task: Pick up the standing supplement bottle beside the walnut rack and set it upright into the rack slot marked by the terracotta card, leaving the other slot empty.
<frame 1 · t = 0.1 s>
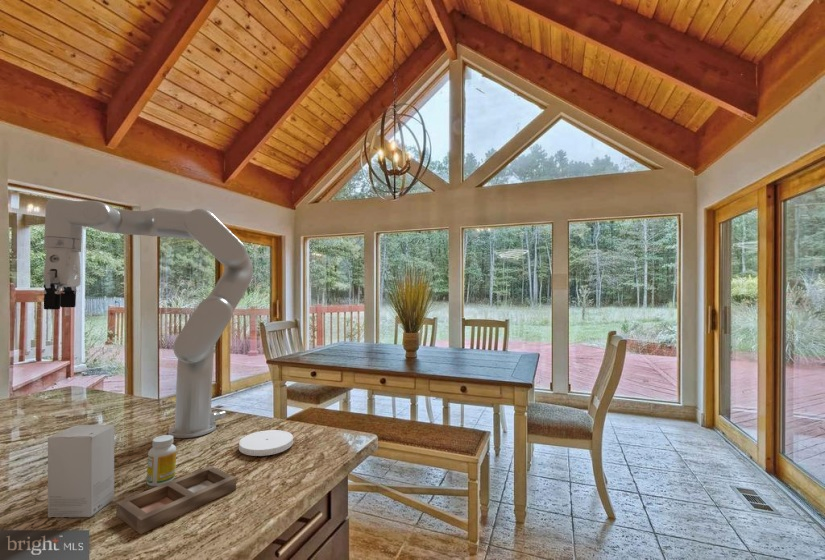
hand: (60, 308, 104), 37 cm above the countertop, tool pointing down, fingers open, 9 cm apart
supplement bottle: (161, 481, 86), on the countertop
tube rack: (180, 501, 78), on the countertop
plastic lid: (266, 449, 106), on the countertop
skincare box: (80, 510, 75), on the countertop
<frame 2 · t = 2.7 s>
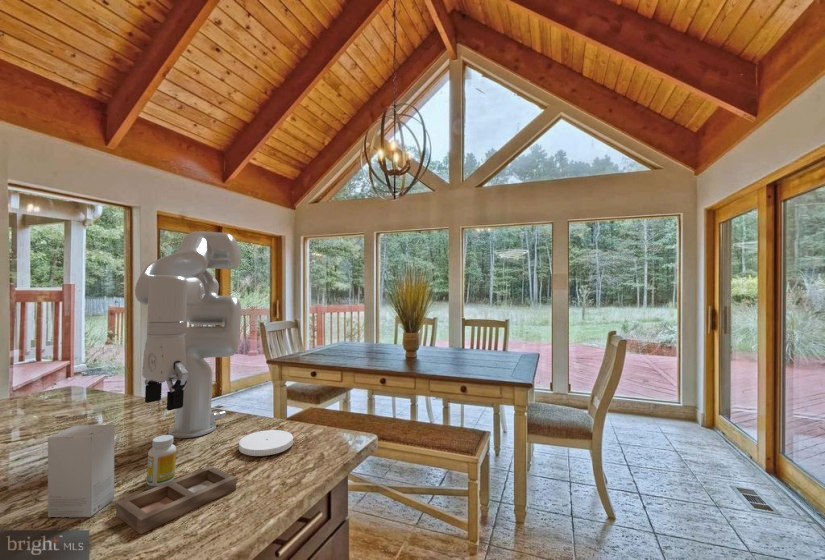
hand: (163, 404, 86), 17 cm above the countertop, tool pointing down, fingers open, 9 cm apart
nothing on the countertop moved.
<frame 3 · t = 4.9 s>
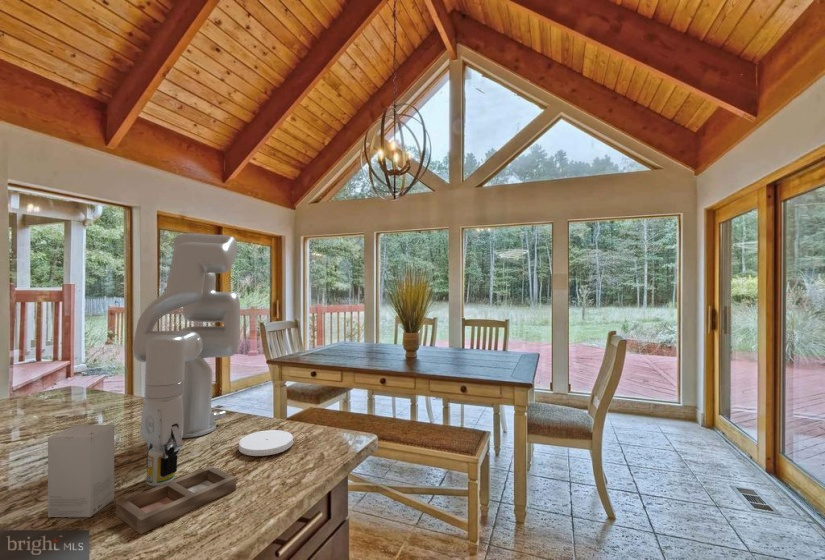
hand: (161, 469, 86), 2 cm above the countertop, tool pointing down, fingers closed on supplement bottle, 5 cm apart
supplement bottle: (161, 481, 86), on the countertop, touching gripper
everything else where it was.
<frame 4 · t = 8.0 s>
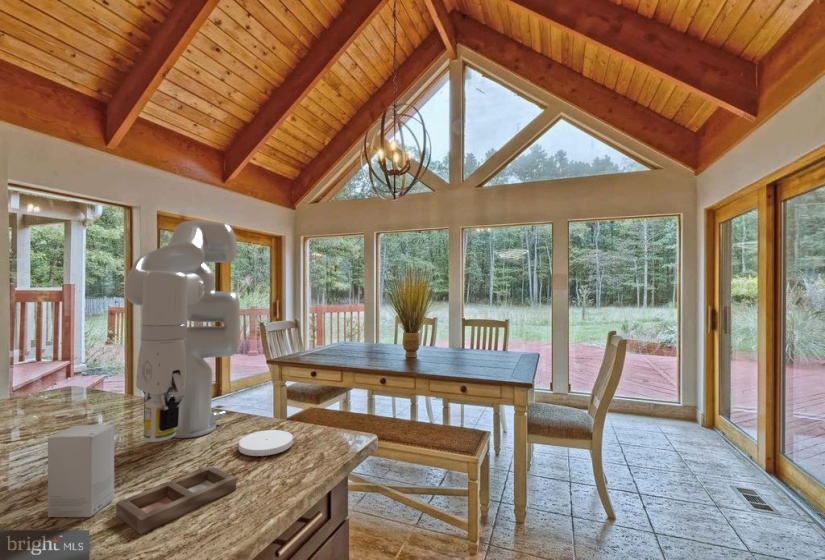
hand: (160, 424, 75), 17 cm above the countertop, tool pointing down, fingers closed on supplement bottle, 5 cm apart
supplement bottle: (160, 438, 75), point 14 cm above the countertop, touching gripper
everything else where it was.
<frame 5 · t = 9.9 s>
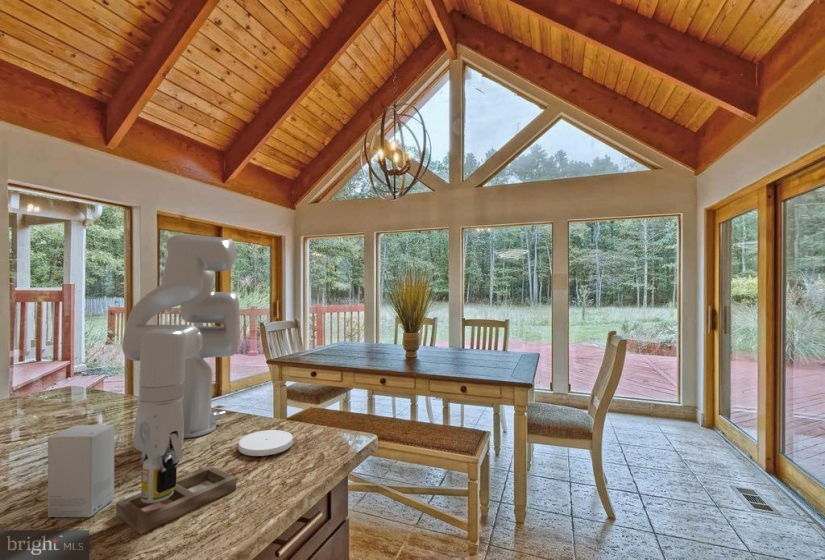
hand: (158, 484, 75), 5 cm above the countertop, tool pointing down, fingers closed on supplement bottle, 5 cm apart
supplement bottle: (157, 497, 75), point 3 cm above the countertop, touching gripper
everything else where it was.
when the fingers open (4 cm above the countertop, at t = 11.1 s): supplement bottle stays where it is, resting on tube rack.
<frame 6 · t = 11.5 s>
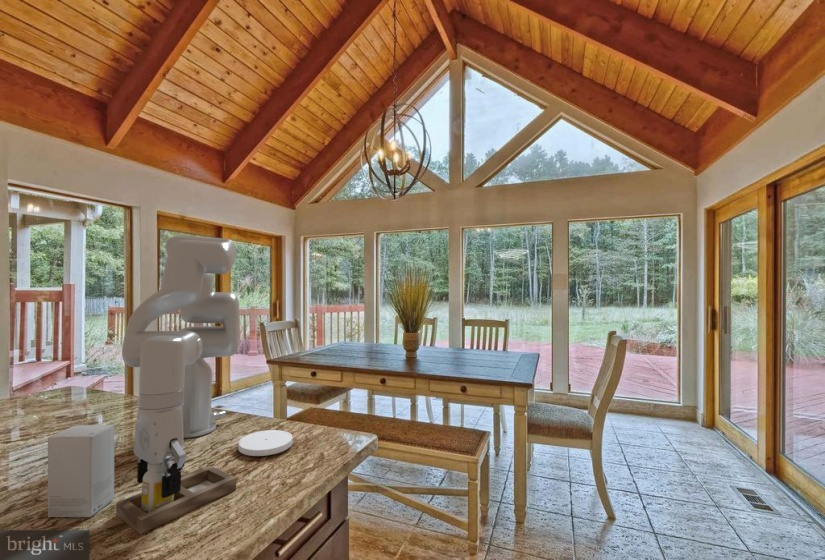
hand: (158, 487, 75), 5 cm above the countertop, tool pointing down, fingers open, 9 cm apart
supplement bottle: (157, 510, 75), resting on tube rack
everything else where it was.
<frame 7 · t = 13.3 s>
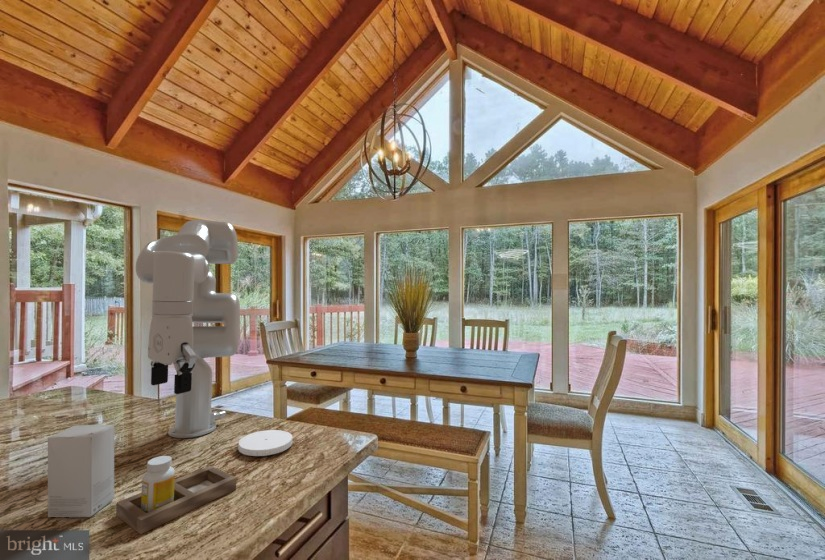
hand: (170, 388, 82), 22 cm above the countertop, tool pointing down, fingers open, 9 cm apart
nothing on the countertop moved.
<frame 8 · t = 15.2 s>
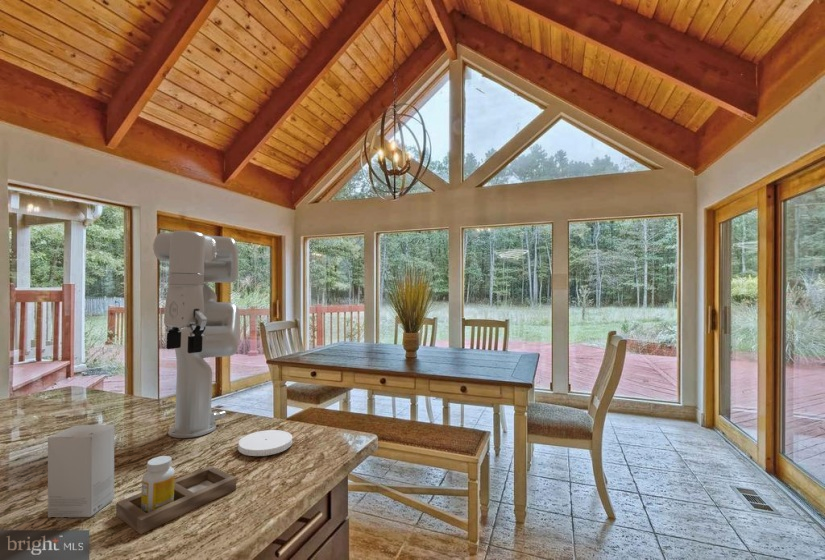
hand: (183, 350, 94), 28 cm above the countertop, tool pointing down, fingers open, 9 cm apart
nothing on the countertop moved.
at the end: supplement bottle 0.2 cm from the target spot on the tube rack, point 0.1 cm above the tube rack's base; supplement bottle tilted 0°; the gripper is holding nothing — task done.
